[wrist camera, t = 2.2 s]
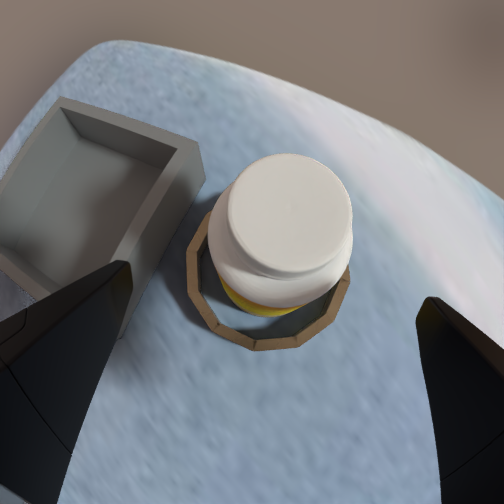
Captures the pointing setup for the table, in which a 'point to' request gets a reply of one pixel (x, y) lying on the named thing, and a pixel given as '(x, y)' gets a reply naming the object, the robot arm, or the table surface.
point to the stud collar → (215, 325)
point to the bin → (93, 198)
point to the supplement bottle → (281, 234)
